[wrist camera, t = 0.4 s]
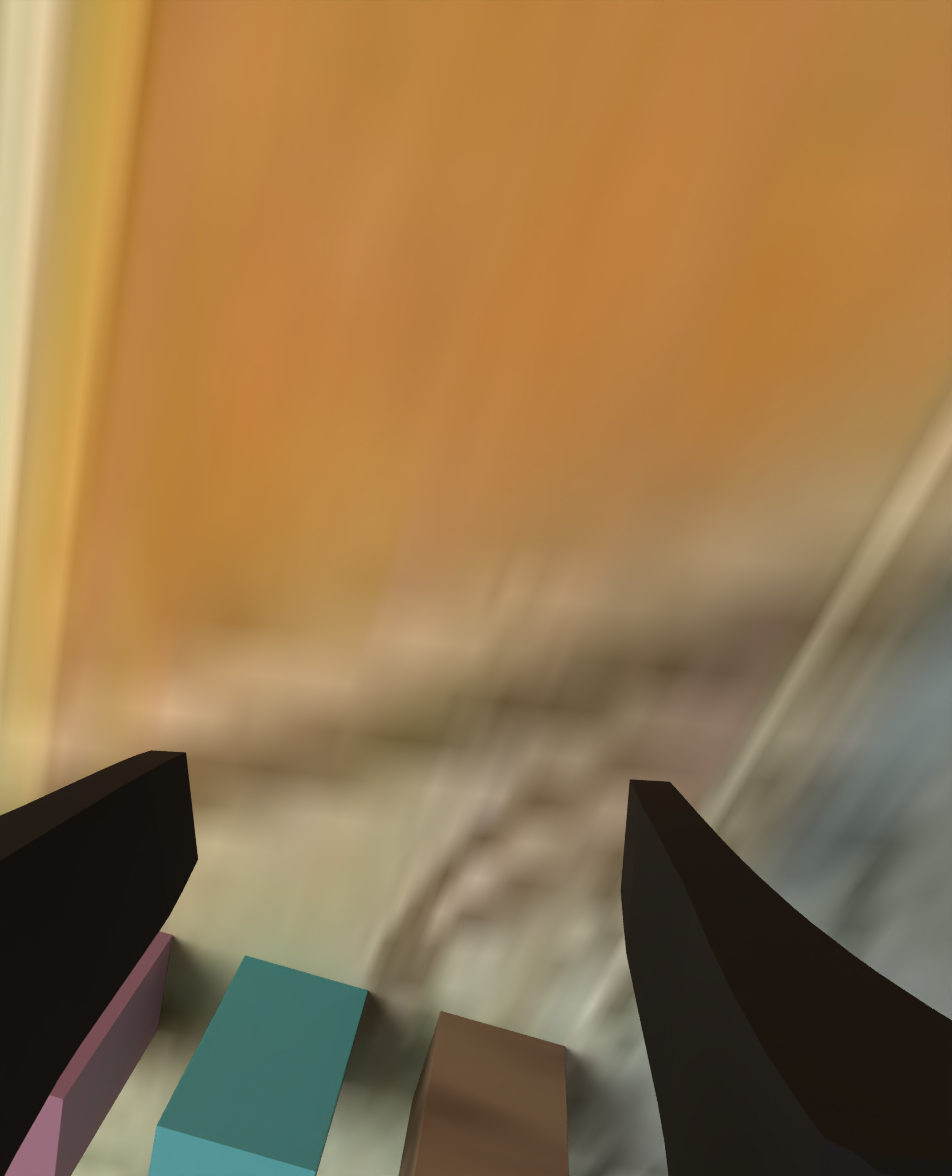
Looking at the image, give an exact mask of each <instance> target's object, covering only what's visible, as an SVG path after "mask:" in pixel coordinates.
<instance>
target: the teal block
mask: <svg viewBox="0 0 952 1176" xmlns="http://www.w3.org/2000/svg"><path fill="white" fill-rule="evenodd" d="M367 992H368V990H364V989H361V988H357V987H354V986H350V985H347V984H343V983H340V982H336V981H333V980H329V979H326V978H322V977H319V976H315V975H312V974H308V973H305V972H301V971H298V970H294V969H291V968H287V967H284V966H280V965H277V964H273V963H270V962H266V961H263V960H259V959H256V958H252V957H249V956H245V957H244V959H243V961H242V962H241V964H240V966H239V968H238V970H237V972H236V974H235V976H234V978H233V980H232V982H231V984H230V986H229V987H228V989H227V991H226V993H225V995H224V997H223V999H222V1001H221V1003H220V1005H219V1007H218V1009H217V1011H216V1012H215V1014H214V1016H213V1018H212V1020H211V1022H210V1024H209V1026H208V1028H207V1030H206V1032H205V1034H204V1036H203V1037H202V1039H201V1041H200V1043H199V1045H198V1047H197V1049H196V1051H195V1053H194V1055H193V1057H192V1059H191V1061H190V1062H189V1064H188V1066H187V1068H186V1070H185V1072H184V1074H183V1076H182V1078H181V1080H180V1082H179V1084H178V1086H177V1088H176V1089H175V1091H174V1093H173V1095H172V1097H171V1099H170V1101H169V1103H168V1105H167V1107H166V1109H165V1111H164V1113H163V1114H162V1116H161V1118H160V1120H159V1122H158V1124H157V1127H156V1133H155V1139H154V1145H153V1151H152V1156H151V1162H150V1168H149V1174H148V1176H316V1174H317V1171H318V1167H319V1164H320V1160H321V1157H322V1154H323V1150H324V1147H325V1143H326V1140H327V1136H328V1133H329V1129H330V1126H331V1122H332V1119H333V1115H334V1112H335V1108H336V1105H337V1101H338V1098H339V1094H340V1091H341V1087H342V1084H343V1080H344V1076H345V1073H346V1069H347V1065H348V1062H349V1058H350V1054H351V1051H352V1047H353V1043H354V1040H355V1036H356V1032H357V1029H358V1025H359V1021H360V1018H361V1014H362V1010H363V1007H364V1003H365V999H366V996H367Z"/></svg>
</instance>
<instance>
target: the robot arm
mask: <svg viewBox="0 0 952 1176" xmlns="http://www.w3.org/2000/svg"><path fill="white" fill-rule="evenodd" d="M197 860H198V855H197V846H196V837H195V828H194V819H193V810H192V801H191V793H190V784H189V775H188V766H187V757H186V753H185V752H168V751H152V750H151V751H148V752H145V753H142V754H139V755H136V756H133V757H131V758H128V759H126V760H123V761H121V762H119V763H116V764H114V765H112V766H109V767H107V768H105V769H103V770H100V771H98V772H96V773H94V774H92V775H89V776H87V777H85V778H83V779H81V780H78V781H76V782H74V783H72V784H70V785H68V786H65V787H63V788H61V789H59V790H57V791H54V792H52V793H50V794H48V795H46V796H44V797H41V798H39V799H37V800H35V801H33V802H31V803H28V804H26V805H24V806H22V807H19V808H17V809H15V810H12V811H10V812H8V813H5V814H3V815H1V816H0V1176H5V1174H6V1172H7V1170H8V1168H9V1166H10V1164H11V1163H12V1161H13V1159H14V1157H15V1155H16V1153H17V1151H18V1150H19V1148H20V1146H21V1144H22V1143H23V1141H24V1139H25V1137H26V1136H27V1134H28V1132H29V1130H30V1129H31V1127H32V1125H33V1123H34V1122H35V1120H36V1118H37V1116H38V1114H39V1113H40V1111H41V1109H42V1107H43V1106H44V1104H45V1102H46V1100H47V1099H48V1097H49V1095H50V1093H51V1092H52V1090H53V1088H54V1086H55V1085H56V1083H57V1081H58V1079H59V1078H60V1076H61V1075H62V1073H63V1072H64V1070H65V1068H66V1067H67V1065H68V1064H69V1062H70V1061H71V1059H72V1058H73V1056H74V1054H75V1053H76V1051H77V1050H78V1048H79V1047H80V1045H81V1044H82V1042H83V1041H84V1039H85V1038H86V1037H87V1035H88V1034H89V1032H90V1031H91V1029H92V1028H93V1026H94V1025H95V1024H96V1022H97V1021H98V1019H99V1018H100V1016H101V1015H102V1013H103V1012H104V1011H105V1009H106V1008H107V1006H108V1005H109V1003H110V1002H111V1001H112V999H113V998H114V996H115V995H116V993H117V992H118V990H119V989H120V988H121V986H122V985H123V983H124V982H125V980H126V979H127V978H128V976H129V975H130V973H131V972H132V970H133V969H134V967H135V966H136V965H137V963H138V962H139V960H140V959H141V957H142V956H143V954H144V953H145V951H146V950H147V948H148V947H149V946H150V944H151V943H152V941H153V940H154V938H155V937H156V935H157V934H158V932H159V931H160V929H161V928H162V926H163V925H164V923H165V922H166V920H167V919H168V917H169V916H170V914H171V912H172V910H173V908H174V906H175V904H176V902H177V901H178V899H179V897H180V895H181V893H182V891H183V889H184V887H185V885H186V883H187V881H188V879H189V877H190V875H191V873H192V871H193V869H194V867H195V865H196V863H197ZM621 900H622V911H623V923H624V934H625V944H626V954H627V959H628V964H629V969H630V973H631V978H632V983H633V988H634V993H635V998H636V1002H637V1007H638V1012H639V1017H640V1021H641V1026H642V1031H643V1036H644V1040H645V1045H646V1050H647V1054H648V1059H649V1064H650V1069H651V1073H652V1078H653V1083H654V1088H655V1092H656V1097H657V1102H658V1107H659V1113H660V1119H661V1124H662V1130H663V1136H664V1142H665V1150H666V1158H667V1167H668V1175H669V1176H952V1020H950V1019H949V1018H947V1017H945V1016H944V1015H942V1014H941V1013H939V1012H937V1011H936V1010H934V1009H932V1008H931V1007H929V1006H928V1005H926V1004H925V1003H923V1002H922V1001H920V1000H919V999H917V998H916V997H914V996H912V995H911V994H909V993H908V992H906V991H905V990H903V989H902V988H900V987H899V986H897V985H896V984H894V983H893V982H891V981H890V980H888V979H887V978H885V977H884V976H882V975H881V974H879V973H878V972H876V971H875V970H874V969H872V968H871V967H869V966H868V965H867V964H865V963H864V962H862V961H861V960H860V959H858V958H857V957H855V956H854V955H853V954H851V953H850V952H849V951H847V950H846V949H845V948H844V947H842V946H841V945H840V944H838V943H837V942H836V941H834V940H833V939H832V938H831V937H829V936H828V935H827V934H825V933H824V932H823V931H822V930H820V929H819V928H818V927H816V926H815V925H814V924H813V923H811V922H810V921H809V920H808V919H806V918H805V917H804V916H803V915H802V914H800V913H799V912H798V911H797V910H796V909H794V908H793V907H792V906H791V905H790V904H789V903H788V902H787V901H785V900H784V899H783V898H782V897H781V896H780V895H779V894H778V893H777V892H775V891H774V890H773V889H772V888H771V887H770V886H769V885H768V884H767V883H766V882H764V881H763V880H762V879H761V878H760V877H759V876H758V875H757V874H756V873H755V872H754V871H753V870H752V869H751V868H750V867H749V866H748V865H747V864H746V863H744V862H743V861H742V860H741V859H740V858H739V857H738V856H737V855H736V853H735V852H734V851H733V850H732V849H731V848H730V847H729V846H728V845H727V844H726V843H725V842H724V841H723V840H722V839H721V838H720V837H719V836H718V835H717V834H716V833H715V832H714V830H713V829H712V828H711V827H710V826H709V825H708V824H707V823H706V822H705V820H704V819H703V818H702V817H701V816H700V815H699V814H698V813H697V812H696V810H695V809H694V808H693V807H692V806H691V805H690V804H689V803H688V801H687V800H686V799H685V798H684V797H683V796H682V795H681V794H680V793H679V791H678V790H677V789H676V788H675V787H674V786H673V785H672V784H671V783H670V782H664V781H647V780H631V779H630V784H629V796H628V808H627V820H626V833H625V845H624V857H623V869H622V881H621Z"/></svg>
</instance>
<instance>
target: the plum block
mask: <svg viewBox="0 0 952 1176" xmlns="http://www.w3.org/2000/svg"><path fill="white" fill-rule="evenodd" d="M172 937H173V935H171V934H167V933H163V932H160V931H159V932H158V934H157V935H156V937H155V938H154V940H153V941H152V943H151V944H150V946H149V947H148V948H147V950H146V951H145V953H144V954H143V956H142V957H141V959H140V960H139V962H138V963H137V965H136V966H135V967H134V969H133V970H132V972H131V973H130V975H129V976H128V978H127V979H126V980H125V982H124V983H123V985H122V986H121V988H120V989H119V990H118V992H117V993H116V995H115V996H114V998H113V999H112V1001H111V1002H110V1003H109V1005H108V1006H107V1008H106V1009H105V1011H104V1012H103V1013H102V1015H101V1016H100V1018H99V1019H98V1021H97V1022H96V1024H95V1025H94V1026H93V1028H92V1029H91V1031H90V1032H89V1034H88V1035H87V1037H86V1038H85V1039H84V1041H83V1042H82V1044H81V1045H80V1047H79V1048H78V1050H77V1051H76V1053H75V1054H74V1056H73V1058H72V1059H71V1061H70V1062H69V1064H68V1065H67V1067H66V1068H65V1070H64V1072H63V1073H62V1075H61V1076H60V1078H59V1079H58V1081H57V1083H56V1085H55V1086H54V1088H53V1090H52V1092H51V1093H50V1095H49V1097H48V1099H47V1100H46V1102H45V1104H44V1106H43V1107H42V1109H41V1111H40V1113H39V1114H38V1116H37V1118H36V1120H35V1122H34V1123H33V1125H32V1127H31V1129H30V1130H29V1132H28V1134H27V1136H26V1137H25V1139H24V1141H23V1143H22V1144H21V1146H20V1148H19V1150H18V1151H17V1153H16V1155H15V1157H14V1159H13V1161H12V1163H11V1164H10V1166H9V1168H8V1170H7V1172H6V1174H5V1176H71V1174H72V1173H73V1171H74V1169H75V1168H76V1166H77V1164H78V1163H79V1161H80V1159H81V1157H82V1156H83V1154H84V1152H85V1151H86V1149H87V1147H88V1146H89V1144H90V1142H91V1141H92V1139H93V1137H94V1136H95V1134H96V1132H97V1131H98V1129H99V1127H100V1126H101V1124H102V1122H103V1120H104V1119H105V1117H106V1115H107V1114H108V1112H109V1110H110V1109H111V1107H112V1105H113V1104H114V1102H115V1100H116V1099H117V1097H118V1095H119V1094H120V1092H121V1090H122V1089H123V1087H124V1085H125V1083H126V1082H127V1080H128V1078H129V1077H130V1075H131V1073H132V1072H133V1070H134V1068H135V1067H136V1065H137V1063H138V1062H139V1060H140V1058H141V1057H142V1055H143V1053H144V1052H145V1050H146V1048H147V1046H148V1045H149V1043H150V1041H151V1040H152V1038H153V1036H154V1035H155V1033H156V1031H157V1030H158V1024H159V1018H160V1012H161V1005H162V999H163V993H164V987H165V980H166V974H167V968H168V962H169V955H170V949H171V943H172Z"/></svg>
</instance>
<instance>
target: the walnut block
mask: <svg viewBox="0 0 952 1176" xmlns="http://www.w3.org/2000/svg"><path fill="white" fill-rule="evenodd" d="M399 1176H569V1167H568V1135H567V1104H566V1073H565V1046H562V1045H558V1044H555V1043H551V1042H548V1041H544V1040H541V1039H537V1038H534V1037H530V1036H527V1035H523V1034H520V1033H516V1032H513V1031H509V1030H506V1029H502V1028H499V1027H495V1026H492V1025H488V1024H485V1023H481V1022H478V1021H474V1020H470V1019H467V1018H463V1017H460V1016H456V1015H453V1014H449V1013H446V1012H442V1011H441V1012H440V1015H439V1019H438V1022H437V1025H436V1028H435V1031H434V1034H433V1038H432V1041H431V1044H430V1047H429V1050H428V1053H427V1057H426V1060H425V1063H424V1066H423V1069H422V1072H421V1076H420V1079H419V1082H418V1085H417V1088H416V1091H415V1095H414V1098H413V1101H412V1106H411V1111H410V1117H409V1122H408V1128H407V1133H406V1139H405V1144H404V1150H403V1155H402V1160H401V1166H400V1171H399Z"/></svg>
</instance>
